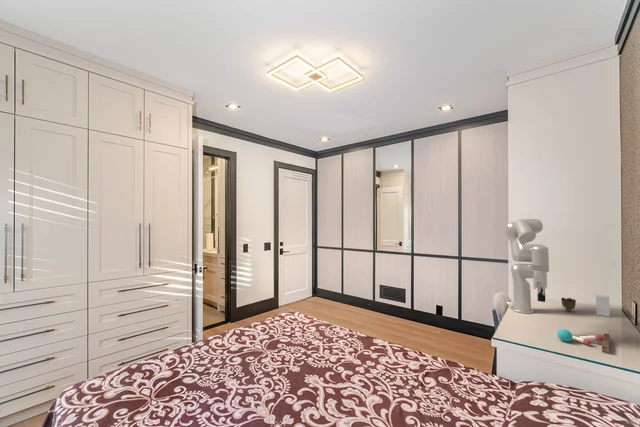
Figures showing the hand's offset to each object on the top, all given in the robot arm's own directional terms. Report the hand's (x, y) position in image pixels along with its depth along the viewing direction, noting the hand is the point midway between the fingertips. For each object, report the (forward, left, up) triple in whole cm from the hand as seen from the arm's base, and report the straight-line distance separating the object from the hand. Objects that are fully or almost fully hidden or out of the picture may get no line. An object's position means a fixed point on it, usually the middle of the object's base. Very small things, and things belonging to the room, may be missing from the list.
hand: (541, 301), depth 159 cm
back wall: (+25, 0, -17) cm, 30 cm away
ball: (+10, -6, -14) cm, 19 cm away
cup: (+6, +51, -17) cm, 54 cm away
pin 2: (+16, 0, -16) cm, 22 cm away
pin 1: (+12, -1, -16) cm, 20 cm away
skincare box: (+22, +55, -17) cm, 62 cm away
